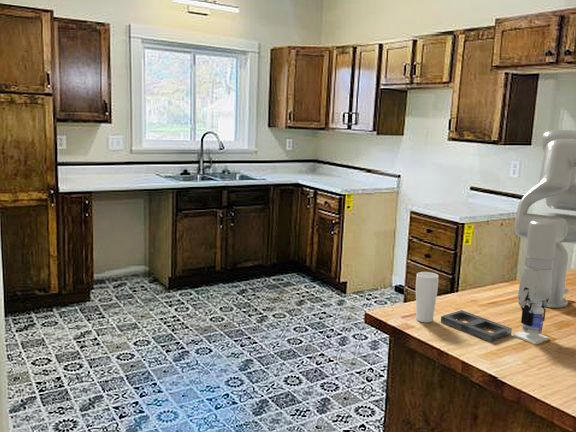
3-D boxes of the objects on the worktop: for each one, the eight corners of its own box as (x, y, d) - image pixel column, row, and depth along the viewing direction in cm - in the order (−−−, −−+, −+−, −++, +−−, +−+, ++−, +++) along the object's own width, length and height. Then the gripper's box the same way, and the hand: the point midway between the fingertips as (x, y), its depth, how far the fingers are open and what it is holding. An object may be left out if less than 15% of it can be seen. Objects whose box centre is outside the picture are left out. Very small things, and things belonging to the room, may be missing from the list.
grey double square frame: (461, 315, 175) (461, 310, 175) (511, 334, 161) (511, 328, 161) (440, 322, 170) (441, 316, 169) (490, 342, 155) (491, 335, 155)
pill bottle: (543, 336, 156) (547, 304, 154) (524, 334, 157) (527, 302, 155) (539, 328, 161) (542, 297, 159) (520, 327, 162) (523, 296, 160)
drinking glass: (439, 320, 172) (442, 274, 169) (428, 326, 167) (432, 279, 164) (420, 314, 176) (423, 270, 173) (409, 320, 171) (412, 274, 168)
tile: (526, 331, 164) (526, 329, 164) (548, 339, 158) (549, 337, 158) (513, 336, 160) (513, 334, 160) (535, 344, 154) (535, 342, 154)
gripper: (543, 255, 163) (537, 312, 166) (509, 264, 153) (503, 324, 157) (567, 261, 157) (560, 320, 160) (534, 270, 147) (527, 333, 150)
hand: (532, 321), depth 158 cm, fingers closed on pill bottle, 5 cm apart
